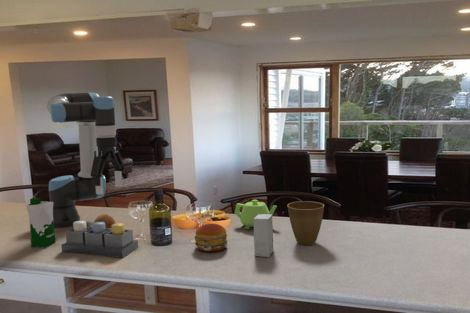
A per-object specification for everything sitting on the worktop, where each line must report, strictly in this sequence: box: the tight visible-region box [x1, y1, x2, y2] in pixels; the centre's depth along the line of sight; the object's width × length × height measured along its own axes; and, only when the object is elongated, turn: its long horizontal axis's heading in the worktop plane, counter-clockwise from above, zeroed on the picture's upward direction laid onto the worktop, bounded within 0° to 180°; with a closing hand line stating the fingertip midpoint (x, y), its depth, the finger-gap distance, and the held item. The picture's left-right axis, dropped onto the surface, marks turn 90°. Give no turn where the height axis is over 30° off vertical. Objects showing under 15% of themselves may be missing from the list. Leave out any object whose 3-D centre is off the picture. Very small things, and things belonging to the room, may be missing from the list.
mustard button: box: [112, 222, 126, 235], centre depth 176 cm, size 5×5×5 cm
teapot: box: [234, 199, 278, 230], centre depth 206 cm, size 20×13×13 cm
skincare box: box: [253, 214, 274, 258], centre depth 170 cm, size 8×6×15 cm
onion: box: [93, 212, 116, 228], centre depth 198 cm, size 10×10×10 cm
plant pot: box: [287, 200, 325, 246], centre depth 181 cm, size 15×15×16 cm
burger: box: [193, 223, 228, 253], centre depth 178 cm, size 14×14×10 cm
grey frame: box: [61, 226, 139, 258], centre depth 179 cm, size 12×28×8 cm, turn 73°
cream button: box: [72, 220, 87, 232], centre depth 181 cm, size 5×5×5 cm
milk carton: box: [25, 197, 57, 248], centre depth 187 cm, size 9×9×20 cm
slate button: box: [91, 222, 105, 233], centre depth 179 cm, size 5×5×5 cm
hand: (109, 190), depth 173 cm, fingers open, 13 cm apart
